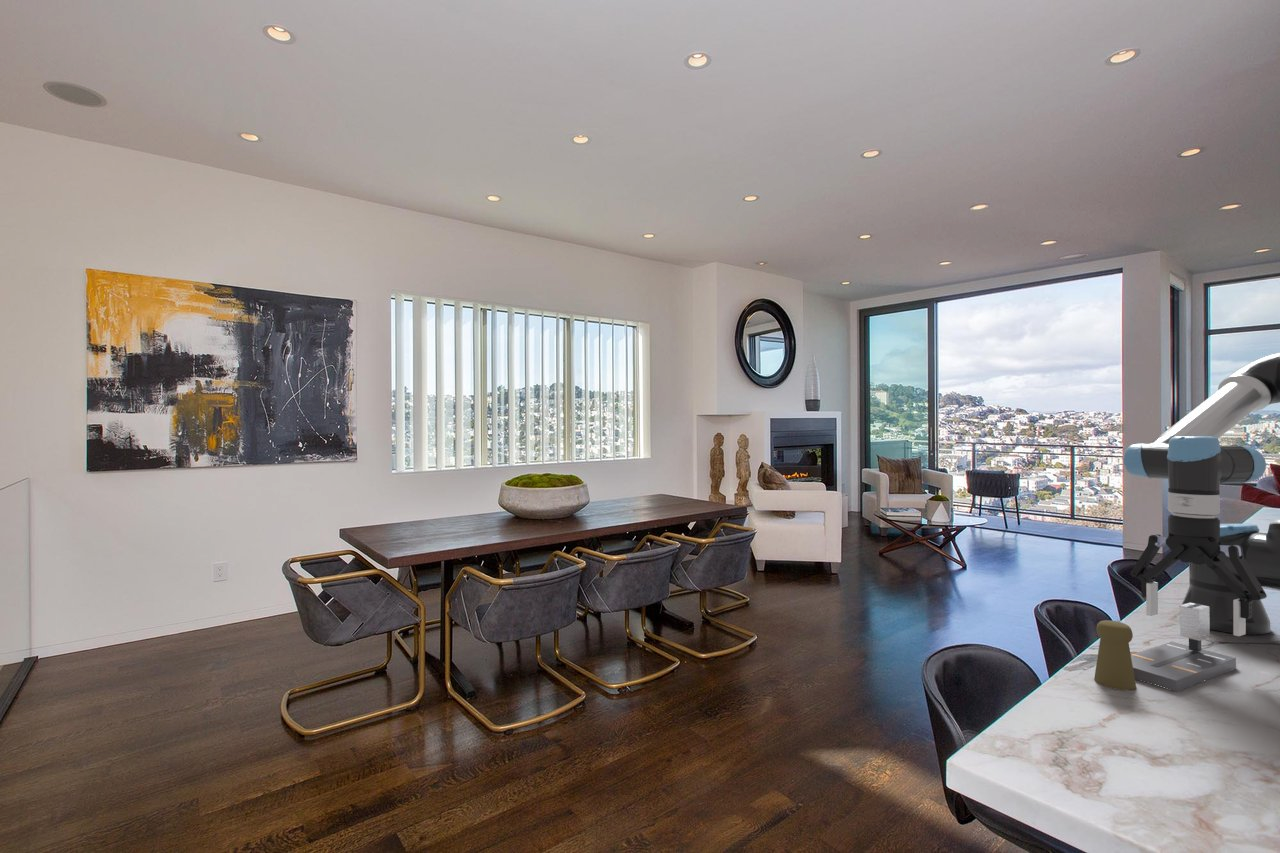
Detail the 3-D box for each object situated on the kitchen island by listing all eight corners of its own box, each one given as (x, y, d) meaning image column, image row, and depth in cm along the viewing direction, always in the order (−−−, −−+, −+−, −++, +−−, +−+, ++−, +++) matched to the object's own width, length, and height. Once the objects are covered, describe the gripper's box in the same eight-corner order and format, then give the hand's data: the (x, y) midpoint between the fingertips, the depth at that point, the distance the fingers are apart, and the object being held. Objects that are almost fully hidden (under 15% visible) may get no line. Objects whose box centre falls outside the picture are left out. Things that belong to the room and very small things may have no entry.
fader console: (1172, 651, 126) (1171, 641, 126) (1236, 668, 117) (1235, 657, 117) (1111, 671, 116) (1111, 660, 116) (1176, 692, 107) (1176, 680, 107)
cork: (1091, 683, 111) (1091, 622, 111) (1096, 673, 115) (1095, 614, 115) (1134, 693, 107) (1133, 630, 107) (1137, 682, 111) (1137, 621, 111)
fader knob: (1190, 645, 122) (1190, 602, 122) (1210, 650, 119) (1209, 606, 119) (1180, 649, 120) (1179, 605, 120) (1199, 654, 118) (1198, 609, 117)
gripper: (1110, 508, 129) (1110, 609, 129) (1272, 525, 107) (1272, 647, 107) (1129, 506, 133) (1130, 605, 133) (1290, 522, 110) (1291, 641, 110)
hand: (1193, 624), depth 120 cm, fingers open, 13 cm apart
